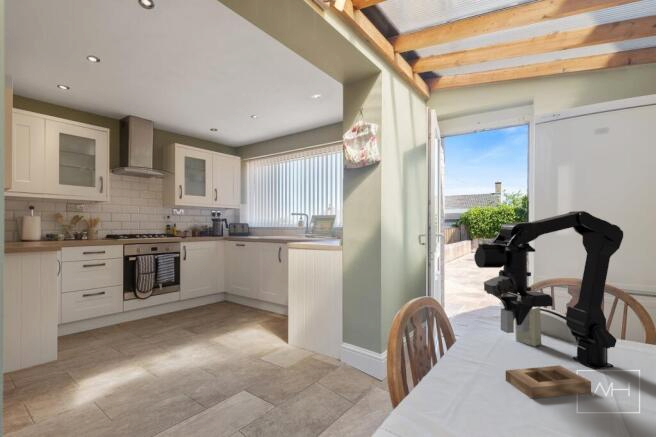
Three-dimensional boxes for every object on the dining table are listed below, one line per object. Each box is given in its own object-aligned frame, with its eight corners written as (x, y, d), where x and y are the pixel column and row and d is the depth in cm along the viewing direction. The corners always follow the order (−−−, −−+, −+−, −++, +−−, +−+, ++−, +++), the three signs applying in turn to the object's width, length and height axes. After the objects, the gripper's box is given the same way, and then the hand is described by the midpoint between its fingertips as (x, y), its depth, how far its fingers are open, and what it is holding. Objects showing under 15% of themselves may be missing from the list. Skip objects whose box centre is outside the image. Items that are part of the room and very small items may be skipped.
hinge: (583, 340, 102) (577, 313, 101) (575, 347, 101) (569, 320, 99) (532, 324, 118) (527, 301, 116) (525, 330, 116) (519, 306, 115)
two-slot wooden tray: (559, 374, 80) (559, 365, 80) (591, 391, 72) (591, 381, 72) (505, 380, 77) (505, 370, 77) (531, 398, 69) (531, 387, 69)
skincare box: (541, 344, 99) (541, 306, 99) (534, 347, 97) (534, 308, 97) (521, 337, 105) (520, 302, 105) (514, 340, 102) (514, 304, 102)
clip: (522, 328, 87) (522, 307, 87) (529, 331, 85) (529, 310, 85) (500, 329, 86) (500, 308, 86) (507, 333, 83) (507, 311, 83)
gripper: (468, 263, 93) (468, 314, 93) (515, 274, 75) (515, 338, 75) (500, 262, 95) (500, 312, 95) (554, 273, 77) (554, 335, 77)
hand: (515, 323), depth 85 cm, fingers closed on clip, 2 cm apart
